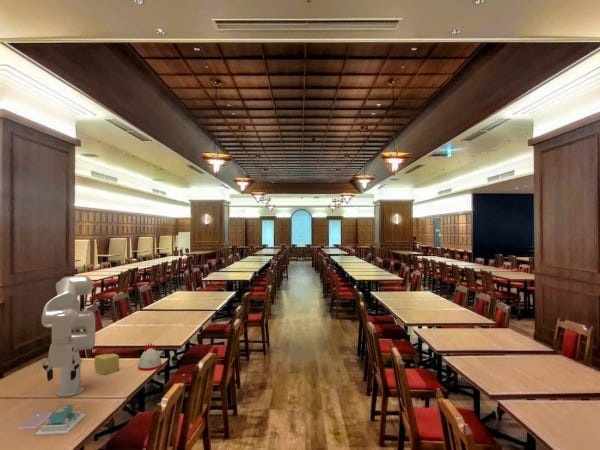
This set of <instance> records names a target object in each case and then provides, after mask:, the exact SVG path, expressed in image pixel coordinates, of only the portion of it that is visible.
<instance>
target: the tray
mask: <svg viewBox="0 0 600 450" xmlns="http://www.w3.org/2000/svg"><path fill="white" fill-rule="evenodd" d="M81 412H82V411H81V410H79V411H78V410H77V409H76V410H73V418H72V419H71V420H70V421H69V422H68V418H66V419H65V425H50V418H47V419H45V425H41V426H40V429H39V430H38V431H37V432H36V433H34V436H35V437H43V436H59V435H60V436H61V435H63V436H64V435H68V434H69V433H70V432H71V431H72V430H73V429H74V428H75V427H76V426H77V425H78V424H79V423H80V422H81V421H82V420H83V419H84V418H85V417H86V415H87V413H81Z"/></svg>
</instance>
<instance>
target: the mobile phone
mask: <svg viewBox="0 0 600 450" xmlns="http://www.w3.org/2000/svg"><path fill="white" fill-rule="evenodd" d="M52 413H53V412H49V411H48V412H36V413H34V414H33V415H32V416H31V417H30V418H28V419H27V420H26V421H25V422H24V423H23V422H22V424H21V425H20V426H18V429H19V430H21V429H22V430H23V429H35V428H38V427H39V426H40V425H42V423H43V422H45V421H46V420H47V419H49V418H50V415H51V414H52Z"/></svg>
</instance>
